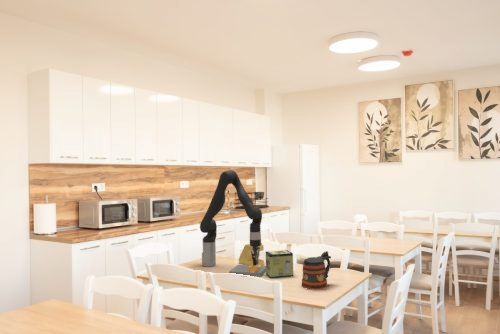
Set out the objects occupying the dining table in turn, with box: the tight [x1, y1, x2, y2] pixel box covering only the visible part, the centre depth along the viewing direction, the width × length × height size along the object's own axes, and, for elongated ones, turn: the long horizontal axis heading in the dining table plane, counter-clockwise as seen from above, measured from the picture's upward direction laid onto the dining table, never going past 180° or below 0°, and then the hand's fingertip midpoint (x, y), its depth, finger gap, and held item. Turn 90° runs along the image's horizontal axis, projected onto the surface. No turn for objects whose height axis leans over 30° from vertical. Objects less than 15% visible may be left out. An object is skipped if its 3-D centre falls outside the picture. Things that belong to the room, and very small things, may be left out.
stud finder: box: [248, 265, 259, 272], centre depth 273 cm, size 6×4×3 cm, turn 75°
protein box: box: [265, 249, 294, 279], centre depth 271 cm, size 10×16×16 cm
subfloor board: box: [228, 264, 266, 278], centre depth 280 cm, size 21×19×3 cm
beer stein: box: [301, 250, 332, 290], centre depth 244 cm, size 19×15×20 cm
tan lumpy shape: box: [238, 242, 265, 266], centre depth 307 cm, size 20×9×16 cm, turn 40°
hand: (255, 264), depth 280 cm, fingers open, 4 cm apart
